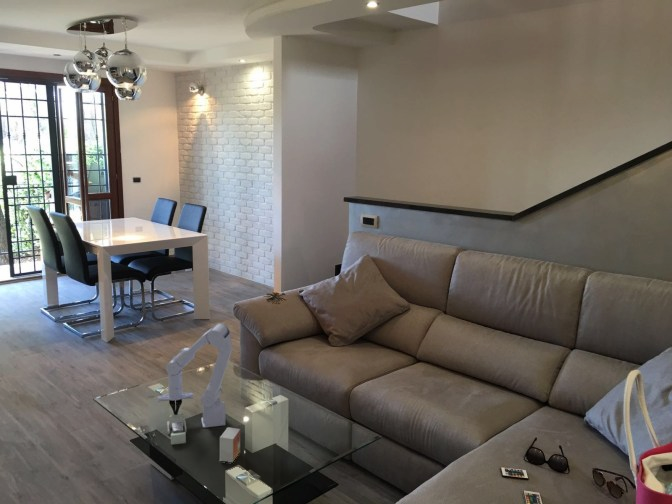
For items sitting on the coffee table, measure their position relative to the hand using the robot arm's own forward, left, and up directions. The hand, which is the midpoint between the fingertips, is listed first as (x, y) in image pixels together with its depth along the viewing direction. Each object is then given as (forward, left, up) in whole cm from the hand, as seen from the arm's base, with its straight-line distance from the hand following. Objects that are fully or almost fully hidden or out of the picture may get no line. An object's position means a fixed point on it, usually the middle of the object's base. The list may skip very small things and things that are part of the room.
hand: (175, 414), depth 244 cm
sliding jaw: (0, +6, -2) cm, 6 cm away
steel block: (0, +15, -2) cm, 16 cm away
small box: (-18, +35, -2) cm, 40 cm away
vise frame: (0, +13, -2) cm, 13 cm away
